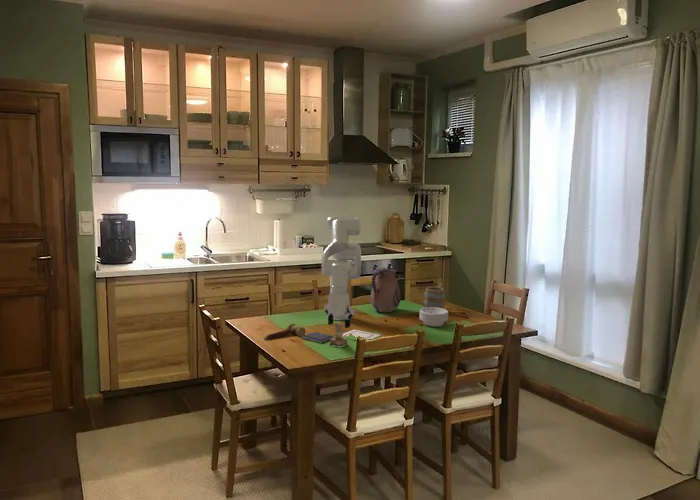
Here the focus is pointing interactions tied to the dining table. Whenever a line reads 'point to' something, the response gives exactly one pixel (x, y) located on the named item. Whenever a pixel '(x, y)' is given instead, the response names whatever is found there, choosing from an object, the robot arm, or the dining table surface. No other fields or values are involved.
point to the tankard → (434, 297)
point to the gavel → (287, 332)
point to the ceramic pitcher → (385, 290)
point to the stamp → (338, 336)
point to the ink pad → (317, 337)
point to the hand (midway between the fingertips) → (339, 325)
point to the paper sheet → (361, 334)
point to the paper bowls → (433, 316)
